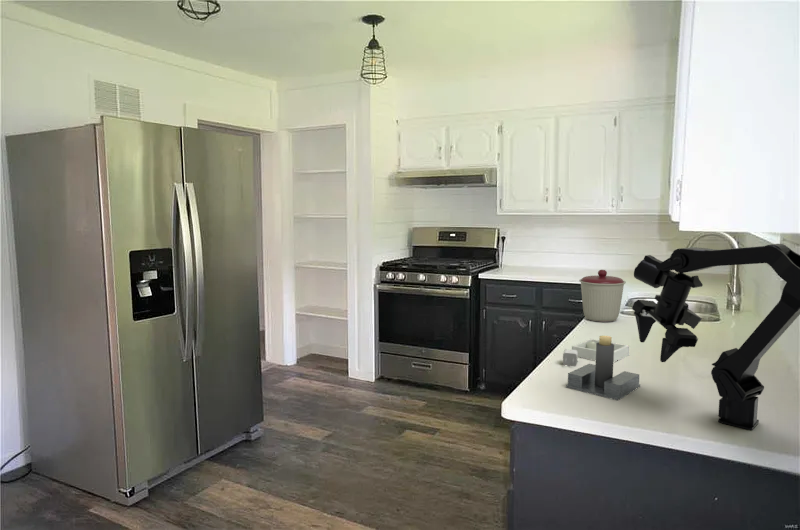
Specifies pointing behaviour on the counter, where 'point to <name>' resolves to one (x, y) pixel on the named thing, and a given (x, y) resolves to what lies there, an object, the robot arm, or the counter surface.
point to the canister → (601, 296)
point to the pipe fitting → (591, 345)
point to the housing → (612, 387)
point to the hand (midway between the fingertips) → (651, 351)
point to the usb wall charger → (570, 357)
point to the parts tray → (584, 352)
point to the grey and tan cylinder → (604, 360)
